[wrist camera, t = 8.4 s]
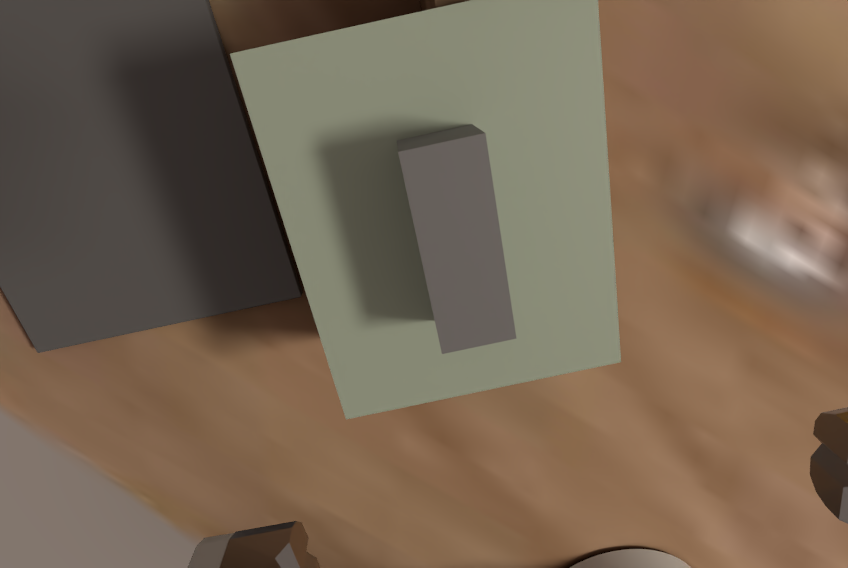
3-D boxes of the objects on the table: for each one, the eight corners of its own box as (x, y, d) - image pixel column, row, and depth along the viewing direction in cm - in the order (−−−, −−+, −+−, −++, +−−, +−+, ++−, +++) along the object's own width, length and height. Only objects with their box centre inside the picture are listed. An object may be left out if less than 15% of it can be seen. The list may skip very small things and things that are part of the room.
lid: (603, 340, 27) (650, 398, 22) (349, 393, 27) (341, 462, 22) (575, -19, 21) (632, -44, 16) (244, 55, 21) (202, 51, 16)
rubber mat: (302, 292, 31) (300, 296, 31) (43, 347, 32) (37, 352, 31) (183, -79, 24) (178, -82, 24) (-152, -3, 24) (-165, -5, 24)
